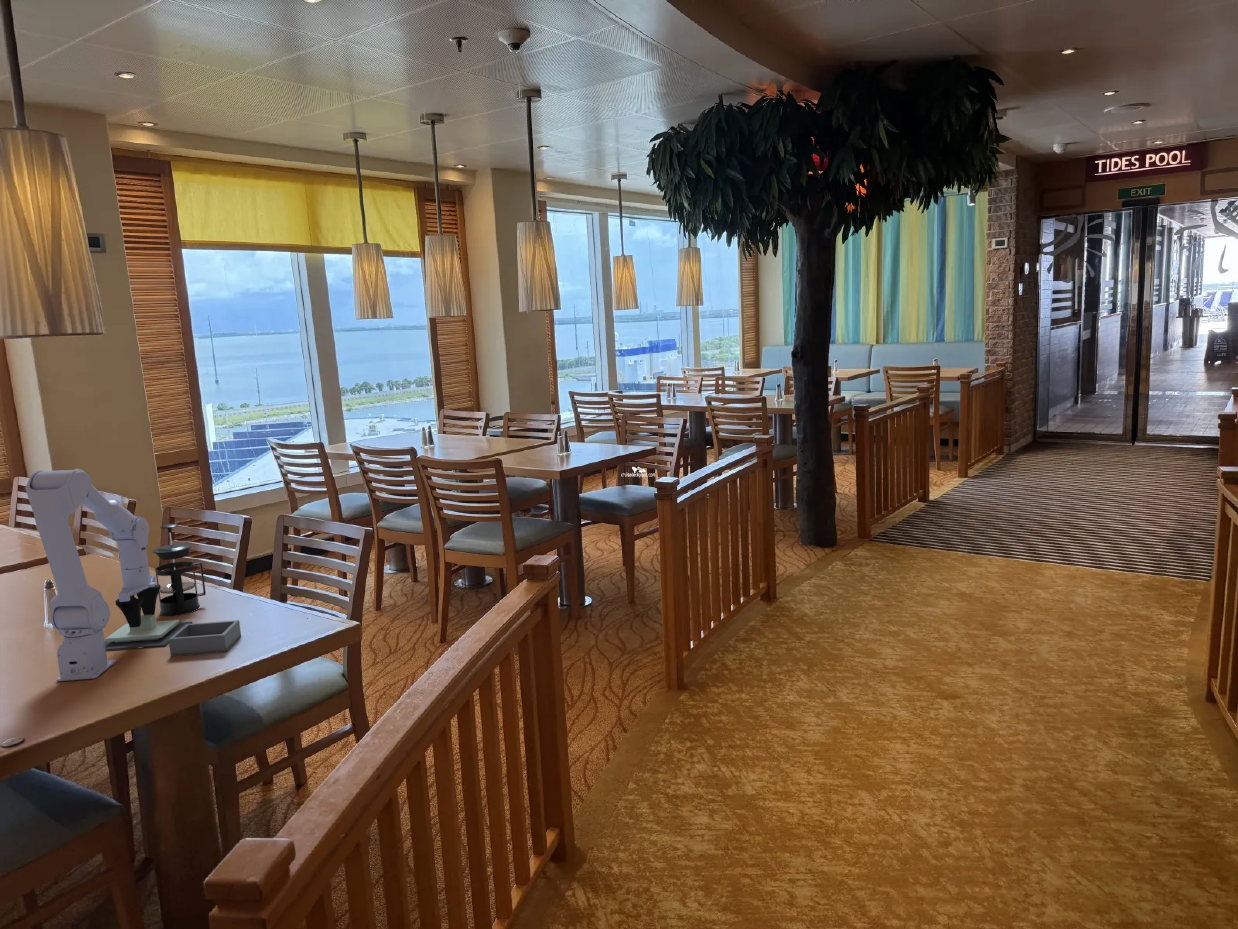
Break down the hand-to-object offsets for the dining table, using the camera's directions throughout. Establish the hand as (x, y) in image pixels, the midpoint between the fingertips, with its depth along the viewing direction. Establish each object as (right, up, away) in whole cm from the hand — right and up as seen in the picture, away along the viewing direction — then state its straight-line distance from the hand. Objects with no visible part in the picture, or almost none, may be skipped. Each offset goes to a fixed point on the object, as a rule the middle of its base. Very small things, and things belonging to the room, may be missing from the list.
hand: (142, 621), depth 204 cm
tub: (+19, -4, -8) cm, 21 cm away
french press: (-1, -1, +20) cm, 20 cm away
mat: (0, -4, +1) cm, 4 cm away
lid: (0, -3, +1) cm, 4 cm away
